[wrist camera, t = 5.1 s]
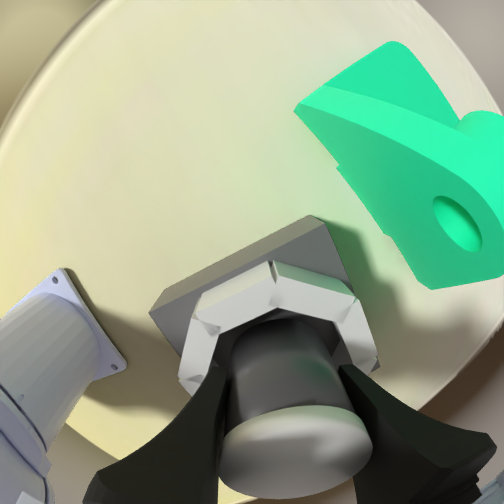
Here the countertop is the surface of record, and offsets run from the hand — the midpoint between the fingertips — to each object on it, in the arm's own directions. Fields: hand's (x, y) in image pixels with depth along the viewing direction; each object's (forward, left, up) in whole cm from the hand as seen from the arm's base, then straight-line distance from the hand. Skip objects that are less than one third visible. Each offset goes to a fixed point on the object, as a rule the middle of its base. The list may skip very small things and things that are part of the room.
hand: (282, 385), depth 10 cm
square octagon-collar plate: (0, 0, -6) cm, 6 cm away
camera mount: (+11, +5, -6) cm, 14 cm away
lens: (0, 0, -2) cm, 2 cm away
